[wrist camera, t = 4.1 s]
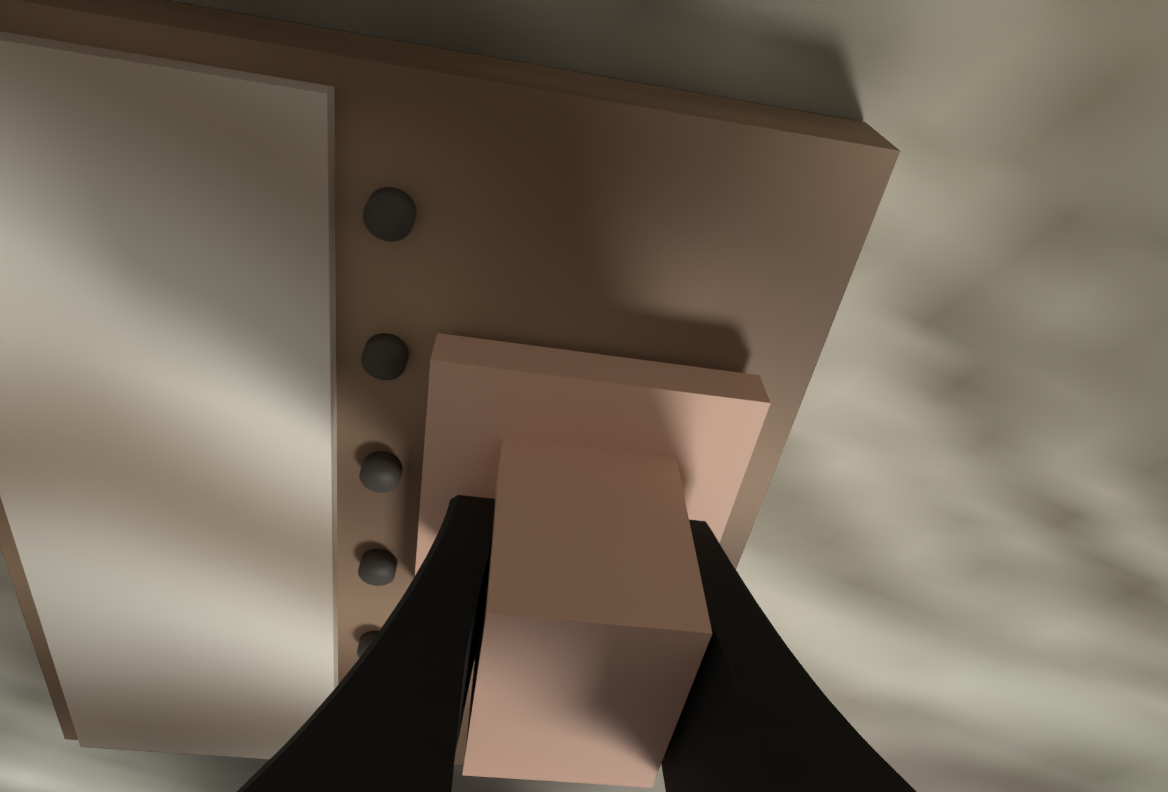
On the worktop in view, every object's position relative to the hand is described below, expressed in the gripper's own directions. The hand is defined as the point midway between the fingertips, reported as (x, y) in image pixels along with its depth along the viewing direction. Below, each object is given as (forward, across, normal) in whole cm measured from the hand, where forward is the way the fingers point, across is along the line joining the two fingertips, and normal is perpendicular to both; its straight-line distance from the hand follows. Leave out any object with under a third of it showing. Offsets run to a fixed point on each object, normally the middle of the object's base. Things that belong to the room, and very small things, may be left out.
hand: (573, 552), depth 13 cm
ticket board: (+3, +3, +1) cm, 5 cm away
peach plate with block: (+1, 0, 0) cm, 1 cm away
